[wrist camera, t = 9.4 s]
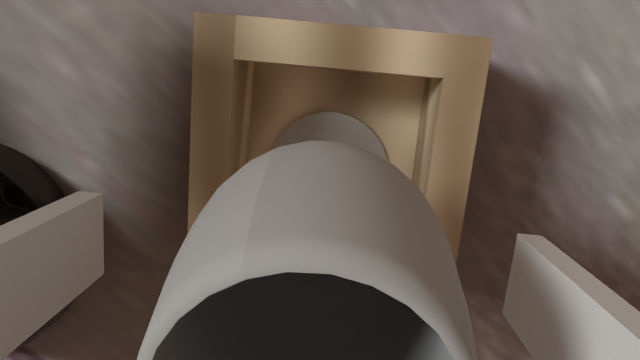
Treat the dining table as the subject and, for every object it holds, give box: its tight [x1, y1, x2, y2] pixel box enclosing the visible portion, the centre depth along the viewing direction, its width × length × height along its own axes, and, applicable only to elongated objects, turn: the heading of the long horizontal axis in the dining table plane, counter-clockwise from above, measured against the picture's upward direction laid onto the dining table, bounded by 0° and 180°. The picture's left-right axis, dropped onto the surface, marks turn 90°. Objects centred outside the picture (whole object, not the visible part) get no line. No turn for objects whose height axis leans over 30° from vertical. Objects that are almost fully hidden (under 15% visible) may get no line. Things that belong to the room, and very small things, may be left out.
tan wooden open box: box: [188, 11, 493, 265], centre depth 27 cm, size 14×14×7 cm
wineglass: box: [137, 112, 478, 360], centre depth 18 cm, size 8×8×21 cm
